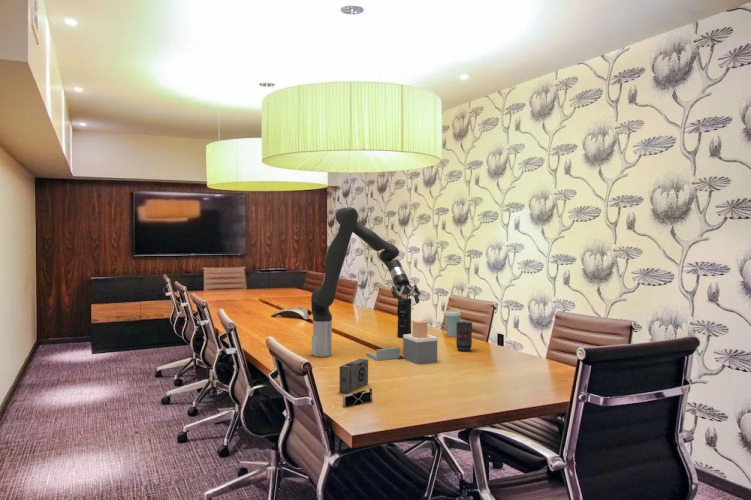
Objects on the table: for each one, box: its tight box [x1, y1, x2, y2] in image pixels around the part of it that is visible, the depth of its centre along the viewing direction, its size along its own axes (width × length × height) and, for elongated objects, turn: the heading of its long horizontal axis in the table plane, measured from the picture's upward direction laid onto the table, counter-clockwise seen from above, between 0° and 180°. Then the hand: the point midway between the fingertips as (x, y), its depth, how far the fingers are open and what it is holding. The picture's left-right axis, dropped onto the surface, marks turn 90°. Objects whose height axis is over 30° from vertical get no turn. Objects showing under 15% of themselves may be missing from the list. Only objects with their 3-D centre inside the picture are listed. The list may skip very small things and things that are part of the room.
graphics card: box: [342, 387, 373, 408], centre depth 188 cm, size 12×3×5 cm, turn 125°
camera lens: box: [455, 320, 473, 353], centre depth 277 cm, size 8×8×15 cm
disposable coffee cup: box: [443, 309, 462, 338], centre depth 319 cm, size 11×11×15 cm
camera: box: [339, 358, 369, 394], centre depth 207 cm, size 16×4×10 cm, turn 151°
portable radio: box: [396, 294, 412, 339], centre depth 314 cm, size 8×6×25 cm
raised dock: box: [402, 333, 438, 365], centre depth 255 cm, size 11×13×12 cm
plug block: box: [412, 320, 428, 339], centre depth 255 cm, size 5×5×8 cm
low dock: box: [365, 347, 401, 362], centre depth 262 cm, size 12×12×5 cm
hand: (410, 303), depth 263 cm, fingers open, 8 cm apart
